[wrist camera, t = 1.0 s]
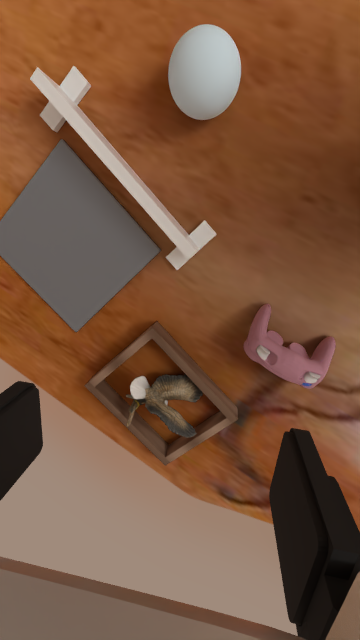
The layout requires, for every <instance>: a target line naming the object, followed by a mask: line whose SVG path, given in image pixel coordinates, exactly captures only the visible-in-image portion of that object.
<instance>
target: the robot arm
mask: <svg viewBox="0 0 360 640" xmlns="http://www.w3.org/2000/svg"><path fill="white" fill-rule="evenodd" d="M42 446H43V440H42V427H41V413H40V399H39V390H38V389H37V388H36V386H35V385H34V384H33V383H27V382H21V381H18V382H16V383H14V384H13V385H12V386H10V387H9V388H8V389H6V390H5V391H4V392H2V393H1V394H0V500H1V499H2V498H3V497H4V496H5V494H6V493H7V492H8V491H9V489H10V488H11V487H12V486H13V485H14V483H15V482H16V481H17V480H18V479H19V477H20V476H21V475H22V474H23V473H24V471H25V470H26V469H27V468H28V467H29V465H30V464H31V463H32V462H33V461H34V459H35V458H36V457H37V456H38V455H39V453H40V451H41V449H42ZM269 496H270V505H271V511H272V518H273V524H274V530H275V536H276V543H277V549H278V555H279V561H280V568H281V574H282V580H283V586H284V593H285V599H286V605H287V612H288V617H289V620H290V622H291V623H295V624H296V627H297V632H298V636H295V635H292V634H290V633H287V632H284V631H281V630H278V629H275V628H272V627H269V626H265V625H262V624H258V623H254V622H251V621H247V620H244V619H240V618H237V617H233V616H230V615H226V614H223V613H218V612H215V611H212V610H208V609H204V608H200V607H197V606H193V605H189V604H185V603H181V602H177V601H173V600H169V599H166V598H162V597H158V596H154V595H150V594H146V593H142V592H139V591H135V590H131V589H127V588H123V587H119V586H115V585H111V584H107V583H103V582H99V581H95V580H91V579H87V578H84V577H80V576H76V575H71V574H68V573H63V572H60V571H56V570H52V569H48V568H44V567H40V566H36V565H32V564H28V563H24V562H20V561H15V560H12V559H7V558H3V557H0V640H360V532H359V530H358V528H357V525H356V523H355V521H354V519H353V516H352V514H351V512H350V509H349V507H348V505H347V503H346V500H345V498H344V496H343V493H342V491H341V489H340V487H339V484H338V482H337V481H336V479H335V478H334V477H332V476H327V473H326V471H325V468H324V466H323V463H322V461H321V459H320V456H319V454H318V451H317V449H316V446H315V444H314V441H313V439H312V437H311V434H310V432H309V431H306V430H300V429H294V428H291V429H290V432H285V433H284V435H283V439H282V443H281V447H280V451H279V455H278V459H277V463H276V467H275V471H274V475H273V479H272V483H271V487H270V495H269Z"/></svg>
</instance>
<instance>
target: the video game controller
mask: <svg viewBox="0 0 360 640" xmlns="http://www.w3.org/2000/svg"><path fill="white" fill-rule="evenodd" d="M270 315H271V306H270V305H269V304H265V305H263V306H262V307H261V308H260V309H259V310H258V312H257V314H256V315H255V317H254V319H253V322H252V325H251V327H250V331H249V334H248V337H247V340H246V341H245V342H244V351H245V352H246V354H247V355H248V356H249V358H250V359H252V360H253V361H255V362H257V363H260V364H261V365H262V366H263V367H265V368H266V369H268V370H269V371H270V372H272V373H274V374H275V375H277V376H279V377H281V378H283V379H285V380H287V381H290V382H293V383H296V384H299V385H300V386H302V387H304V388H313V387H314V386H316V385H317V384H318V383H320V382H321V381H322V379H323V378H324V377H325V375H326V373H327V371H328V368H329V365H330V363H331V360H332V357H333V354H334V351H335V347H336V345H335V339H334V338H333V337H331V336H329V337H326V338H325V339H323V340H322V341H321V342H320V344H319V345H318V346H317V348H316V349H315V351H314V353H313V354H312V356H311V358H309V357H308V355H307V352H306V350H305V349H304V347H303V346H301V345H300V344H298V343H291V344H290V345H289V346H288V347H287V348H286V347H283V346H282V344H283V339H282V337H281V336H280V335H279V334H278V333H277V332H275V331H268V332H267V326H268V322H269V319H270Z"/></svg>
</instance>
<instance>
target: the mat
mask: <svg viewBox="0 0 360 640" xmlns="http://www.w3.org/2000/svg"><path fill="white" fill-rule="evenodd" d="M160 251H161V249H160V248H159V247H158V246H157V245H156V244H155V243H154V242H153V240H152V239H151V238H150V237H149V236H148V235H147V234H146V233H145V231H144V230H143V229H142V228H141V227H140V226H139V225H138V223H137V222H136V221H135V220H134V219H133V218H132V217H131V216H130V214H129V213H128V212H127V211H126V210H125V209H124V208H123V207H122V205H121V204H120V203H119V202H118V201H117V200H116V199H115V198H114V196H113V195H112V194H111V193H110V192H109V191H108V190H107V188H106V187H105V186H104V185H103V184H102V183H101V182H100V181H99V179H98V178H97V177H96V176H95V175H94V174H93V173H92V172H91V170H90V169H89V168H88V167H87V166H86V165H85V164H84V163H83V161H82V160H81V159H80V158H79V157H78V156H77V155H76V153H75V152H74V151H73V150H72V149H71V148H70V147H69V146H68V144H67V143H66V142H65V141H64V140H62V139H61V140H60V141H59V143H58V144H57V145H56V147H55V148H54V149H53V151H52V152H51V153H50V155H49V156H48V157H47V159H46V160H45V161H44V163H43V164H42V166H41V167H40V168H39V170H38V171H37V172H36V174H35V175H34V176H33V178H32V179H31V180H30V182H29V183H28V184H27V186H26V187H25V188H24V190H23V191H22V192H21V194H20V195H19V197H18V198H17V199H16V201H15V202H14V203H13V205H12V206H11V207H10V209H9V210H8V211H7V213H6V214H5V215H4V217H3V218H2V219H1V221H0V256H1V257H2V258H3V259H4V260H5V261H6V262H7V263H8V264H9V265H10V266H11V267H12V268H13V269H14V270H15V271H16V272H17V273H18V274H19V275H20V276H21V277H22V278H23V279H24V280H25V281H26V282H27V283H28V284H29V285H30V286H31V287H32V288H33V289H34V290H35V291H36V292H37V293H38V294H39V295H40V296H41V297H42V298H43V299H44V301H45V302H46V303H47V304H48V305H49V306H50V307H51V308H52V309H53V310H54V311H55V312H56V313H57V314H58V315H59V316H60V317H61V318H62V319H63V320H64V321H65V322H66V323H67V324H68V325H69V326H70V327H71V328H72V329H73V330H74V331H75V332H77V331H78V330H79V329H81V328H82V327H83V326H84V325H85V324H86V323H87V322H88V321H89V320H90V319H91V318H92V317H93V316H94V315H95V314H96V313H97V312H98V311H99V310H100V309H101V308H102V307H103V306H104V305H105V304H106V303H107V302H108V301H109V300H110V299H111V298H113V297H114V296H115V295H116V294H117V293H118V292H119V291H120V290H121V289H122V288H123V287H124V286H125V285H126V284H127V283H128V282H129V281H130V280H131V279H132V278H133V277H134V276H135V275H136V274H137V273H138V272H139V271H140V270H141V269H142V268H144V267H145V266H146V265H147V264H148V263H149V262H150V261H151V260H152V259H153V258H154V257H155V256H156V255H157V254H158V253H159V252H160Z"/></svg>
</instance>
